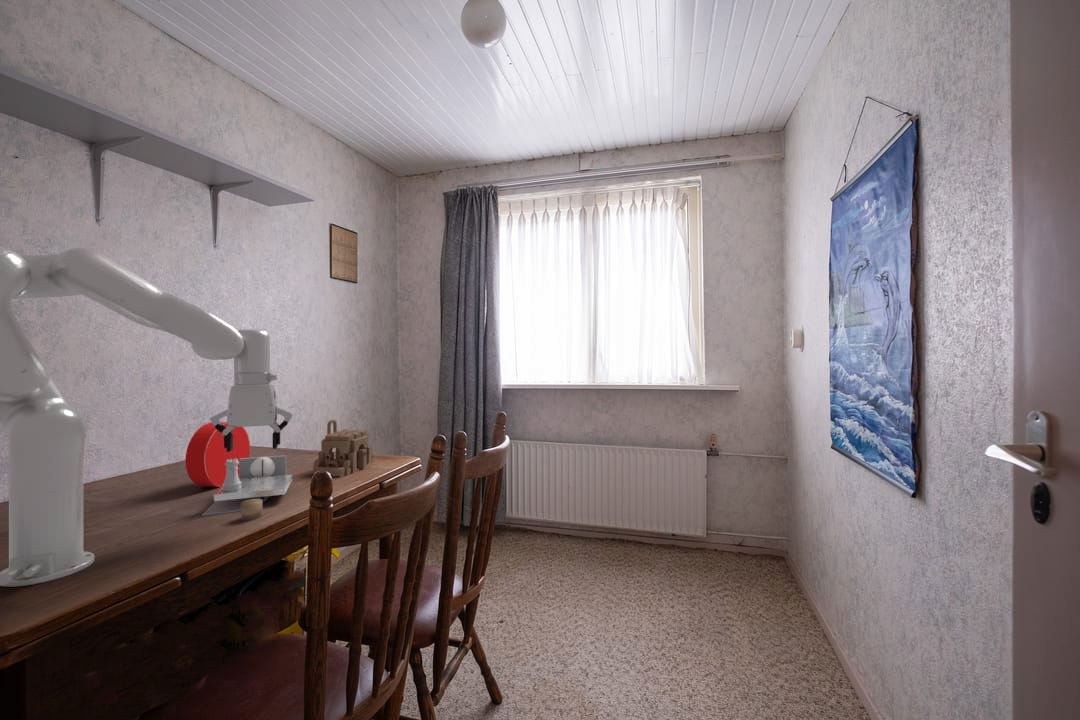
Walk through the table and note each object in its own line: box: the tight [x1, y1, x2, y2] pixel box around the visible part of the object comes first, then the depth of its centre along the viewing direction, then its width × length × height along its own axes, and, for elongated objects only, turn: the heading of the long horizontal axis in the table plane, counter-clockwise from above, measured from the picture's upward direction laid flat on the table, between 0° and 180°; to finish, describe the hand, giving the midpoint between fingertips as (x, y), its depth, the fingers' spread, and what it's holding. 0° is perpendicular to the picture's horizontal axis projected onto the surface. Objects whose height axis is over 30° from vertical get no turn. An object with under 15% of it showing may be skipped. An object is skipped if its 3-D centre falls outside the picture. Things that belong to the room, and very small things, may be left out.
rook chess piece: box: [221, 459, 242, 492], centre depth 123 cm, size 4×4×8 cm
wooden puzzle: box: [312, 419, 375, 478], centre depth 162 cm, size 22×15×19 cm, turn 173°
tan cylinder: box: [240, 499, 264, 522], centre depth 113 cm, size 4×4×5 cm
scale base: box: [201, 455, 287, 517], centre depth 129 cm, size 21×20×11 cm
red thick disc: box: [185, 421, 251, 488], centre depth 145 cm, size 20×6×20 cm, turn 178°
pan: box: [213, 474, 293, 502], centre depth 128 cm, size 16×16×4 cm
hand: (252, 449), depth 113 cm, fingers open, 9 cm apart
